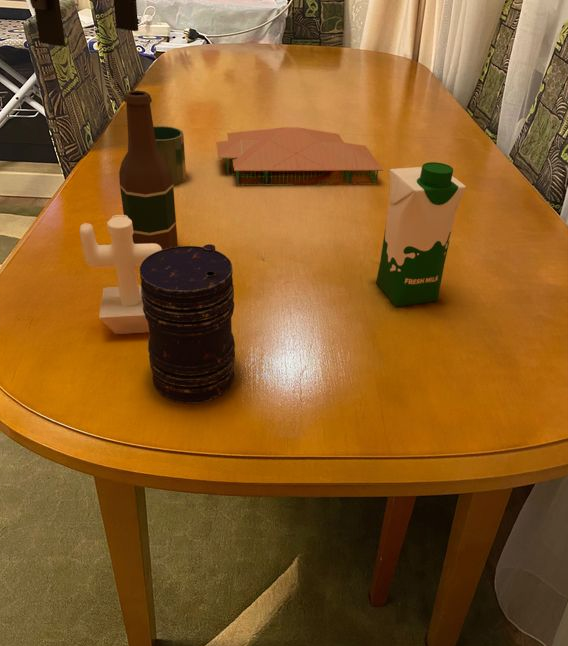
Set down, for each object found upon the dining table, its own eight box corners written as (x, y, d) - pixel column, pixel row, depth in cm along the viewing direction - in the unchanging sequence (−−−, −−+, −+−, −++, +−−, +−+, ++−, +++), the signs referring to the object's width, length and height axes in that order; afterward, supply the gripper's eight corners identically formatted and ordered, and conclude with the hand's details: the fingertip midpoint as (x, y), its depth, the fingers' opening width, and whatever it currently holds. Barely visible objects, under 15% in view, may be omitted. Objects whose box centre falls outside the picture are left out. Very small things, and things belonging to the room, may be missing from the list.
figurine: (170, 337, 79) (160, 231, 70) (94, 341, 77) (74, 234, 68) (169, 307, 84) (160, 206, 75) (99, 310, 83) (81, 207, 74)
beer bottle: (154, 234, 102) (139, 82, 87) (188, 249, 98) (178, 93, 84) (117, 250, 96) (95, 92, 82) (152, 266, 93) (134, 104, 79)
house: (215, 147, 138) (213, 110, 133) (355, 148, 143) (359, 112, 138) (220, 186, 120) (219, 145, 115) (381, 185, 125) (386, 145, 120)
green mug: (193, 181, 121) (191, 136, 115) (153, 189, 117) (148, 142, 111) (168, 163, 128) (164, 119, 123) (129, 170, 124) (123, 125, 118)
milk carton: (392, 311, 87) (415, 176, 75) (367, 280, 94) (385, 151, 82) (446, 304, 89) (476, 172, 77) (418, 274, 96) (442, 148, 84)
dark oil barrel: (134, 389, 70) (114, 250, 59) (179, 343, 78) (168, 213, 67) (210, 414, 68) (203, 273, 57) (249, 364, 75) (249, 232, 64)
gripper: (-2, -242, 47) (44, 57, 59) (169, -189, 66) (177, 28, 79) (-78, -245, 49) (-17, 45, 61) (111, -193, 68) (128, 20, 80)
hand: (92, 36), depth 70 cm, fingers open, 13 cm apart
